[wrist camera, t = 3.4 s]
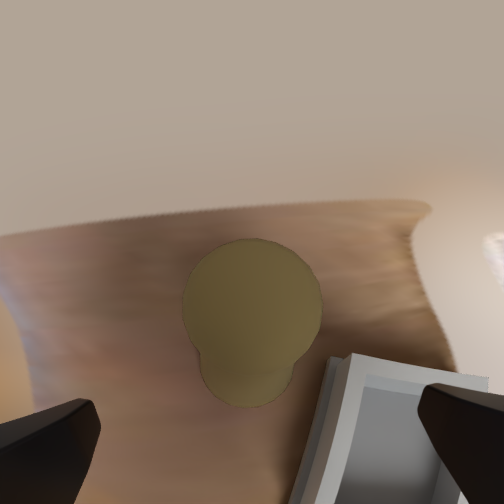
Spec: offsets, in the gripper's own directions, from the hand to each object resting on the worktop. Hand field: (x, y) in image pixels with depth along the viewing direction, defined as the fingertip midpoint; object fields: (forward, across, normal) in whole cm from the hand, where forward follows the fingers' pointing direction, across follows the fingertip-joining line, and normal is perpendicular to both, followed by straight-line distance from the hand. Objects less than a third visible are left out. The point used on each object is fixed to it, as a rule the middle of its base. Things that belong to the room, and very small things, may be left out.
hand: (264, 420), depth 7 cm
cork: (+12, 0, -6) cm, 13 cm away
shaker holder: (+6, +9, -11) cm, 15 cm away
